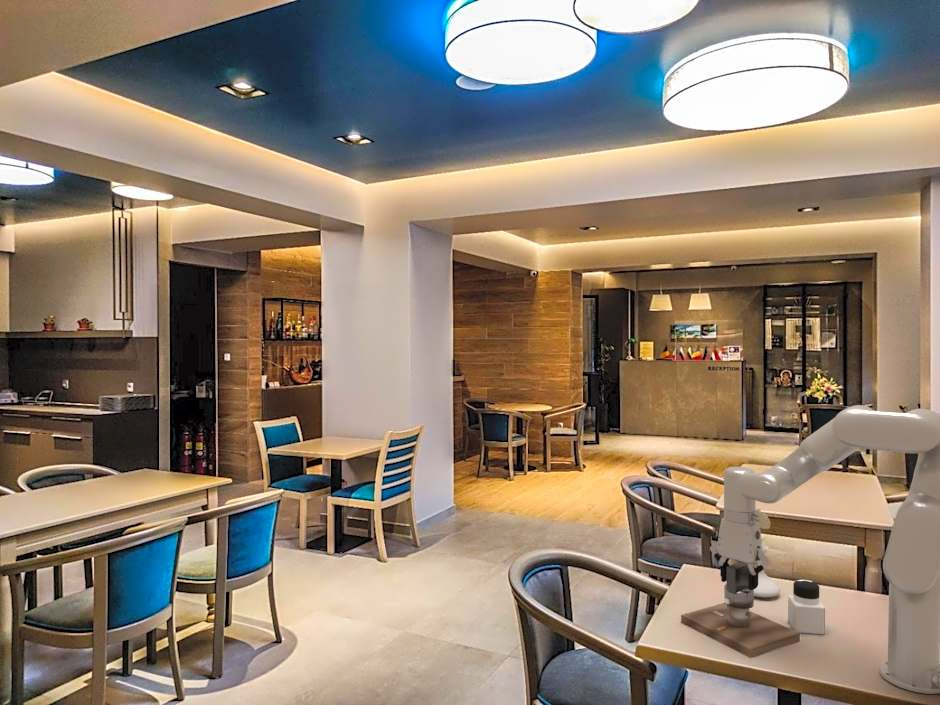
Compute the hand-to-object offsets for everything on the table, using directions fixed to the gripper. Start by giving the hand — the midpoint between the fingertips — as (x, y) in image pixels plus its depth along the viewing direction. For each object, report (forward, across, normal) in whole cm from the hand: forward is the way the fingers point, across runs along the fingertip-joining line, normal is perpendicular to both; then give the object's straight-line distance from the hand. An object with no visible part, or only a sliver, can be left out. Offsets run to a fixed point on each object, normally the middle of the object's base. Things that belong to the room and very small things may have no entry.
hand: (738, 584), depth 171 cm
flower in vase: (+12, +9, -28) cm, 32 cm away
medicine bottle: (+12, -10, -15) cm, 22 cm away
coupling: (+5, 0, +1) cm, 5 cm away
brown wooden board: (+12, 0, 0) cm, 12 cm away
